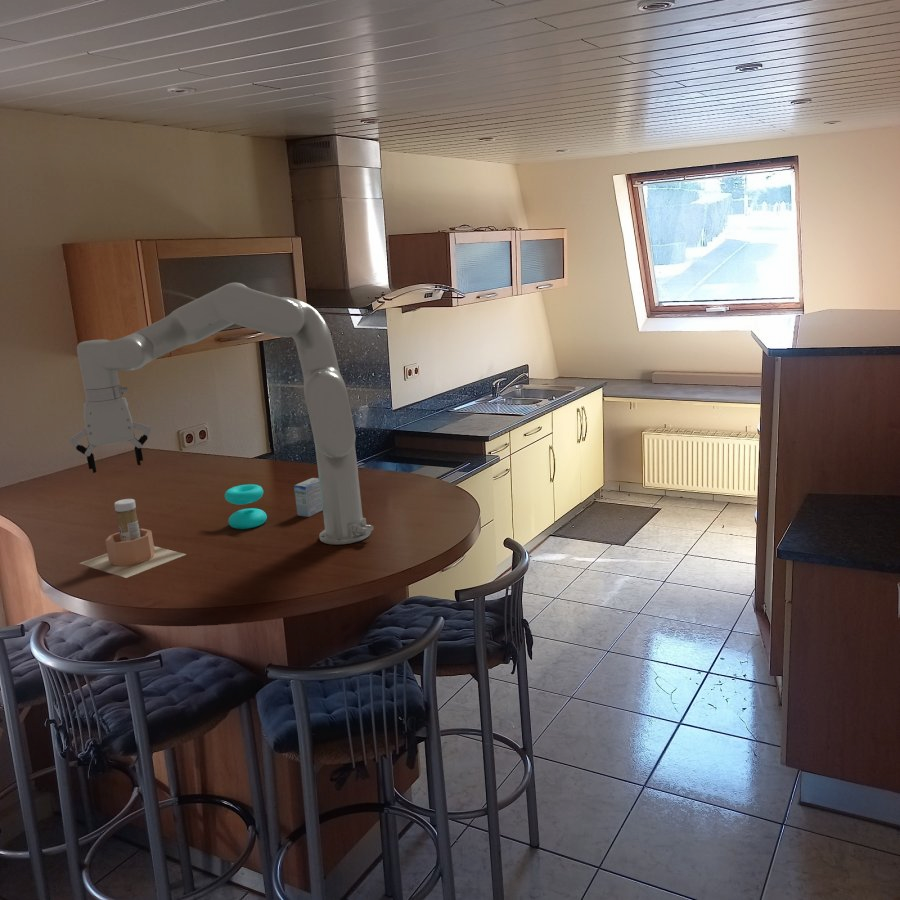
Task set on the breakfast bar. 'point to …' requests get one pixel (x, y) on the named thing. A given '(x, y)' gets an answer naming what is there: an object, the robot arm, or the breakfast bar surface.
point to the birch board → (127, 571)
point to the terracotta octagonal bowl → (130, 549)
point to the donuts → (245, 516)
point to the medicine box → (308, 497)
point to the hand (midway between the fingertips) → (117, 467)
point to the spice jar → (127, 519)
